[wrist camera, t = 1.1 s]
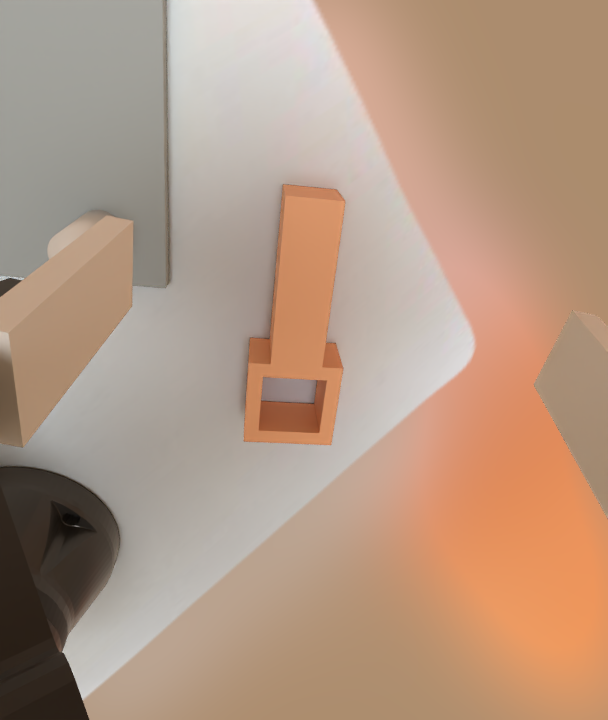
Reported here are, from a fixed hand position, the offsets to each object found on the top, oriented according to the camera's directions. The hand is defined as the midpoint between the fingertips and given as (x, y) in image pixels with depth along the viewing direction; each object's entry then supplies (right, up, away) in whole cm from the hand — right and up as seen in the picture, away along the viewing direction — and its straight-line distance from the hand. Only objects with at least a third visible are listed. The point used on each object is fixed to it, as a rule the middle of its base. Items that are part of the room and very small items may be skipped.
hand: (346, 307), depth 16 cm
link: (-2, +2, +22) cm, 22 cm away
